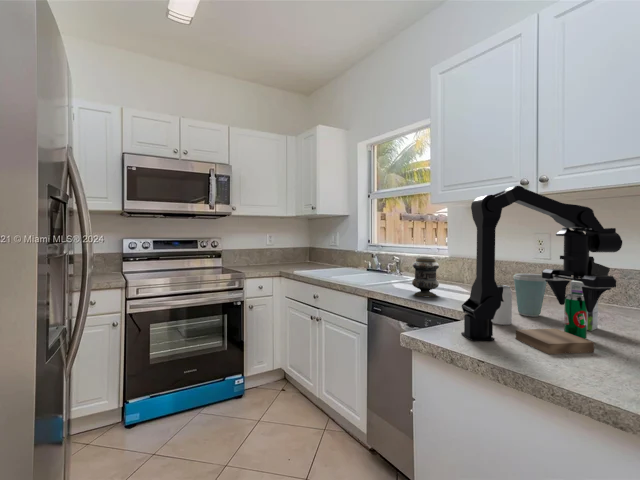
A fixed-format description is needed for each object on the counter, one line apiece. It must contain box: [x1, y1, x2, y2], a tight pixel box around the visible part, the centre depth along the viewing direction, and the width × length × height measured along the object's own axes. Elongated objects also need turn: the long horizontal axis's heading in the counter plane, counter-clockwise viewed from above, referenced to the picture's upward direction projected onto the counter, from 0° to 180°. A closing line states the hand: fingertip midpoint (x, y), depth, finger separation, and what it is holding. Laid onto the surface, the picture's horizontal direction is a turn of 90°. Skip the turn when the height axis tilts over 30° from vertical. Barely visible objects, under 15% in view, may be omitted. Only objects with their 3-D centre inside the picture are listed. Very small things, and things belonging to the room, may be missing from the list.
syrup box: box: [569, 280, 599, 332], centre depth 105 cm, size 6×6×14 cm
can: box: [491, 284, 513, 326], centre depth 111 cm, size 6×6×12 cm
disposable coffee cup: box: [513, 273, 548, 318], centre depth 122 cm, size 11×11×15 cm
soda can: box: [563, 293, 588, 340], centre depth 95 cm, size 5×5×12 cm
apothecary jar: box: [411, 255, 440, 298], centre depth 159 cm, size 12×12×18 cm
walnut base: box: [515, 328, 595, 355], centre depth 89 cm, size 12×12×2 cm
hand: (575, 308), depth 95 cm, fingers open, 9 cm apart
